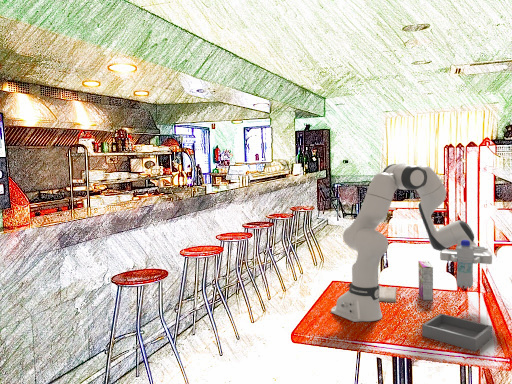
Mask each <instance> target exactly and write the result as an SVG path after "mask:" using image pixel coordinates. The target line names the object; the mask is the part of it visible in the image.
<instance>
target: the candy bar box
mask: <svg viewBox="0 0 512 384" xmlns="http://www.w3.org/2000/svg"><path fill="white" fill-rule="evenodd" d="M417 266H418V294H419V295H420V297H421V299H422V301H433V300H434V284H433V283H434V279H433V277H434V276H433V275H434V267H433V266H432V264H431V263H430V261H428V260H418V265H417Z"/></svg>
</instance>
